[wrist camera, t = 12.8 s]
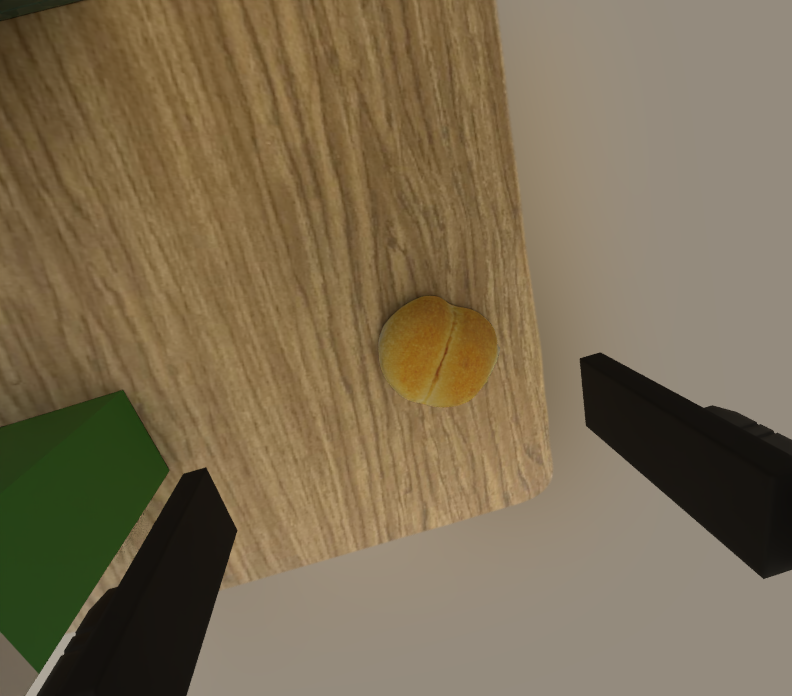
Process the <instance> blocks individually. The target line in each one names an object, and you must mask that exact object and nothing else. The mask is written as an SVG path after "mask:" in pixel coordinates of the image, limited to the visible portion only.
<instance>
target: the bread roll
mask: <svg viewBox="0 0 792 696" xmlns="http://www.w3.org/2000/svg"><path fill="white" fill-rule="evenodd" d="M499 352H500V347H499V345H498V344H497V338H496V334H495V331H494V328H493V327H492V325H491V324H490V323H489V322H488V321H487V320H486V319H485V318H484V317H483V316H482V315H481V314H479V313H478V312H476V311H473V310H471V309H467V308H463V307H457V306H454V305H451V304H449V303H448V302H446V301H445V300H443V299H442V298H440V297H436V296H429V295H428V296H422V297H419V298H417V299H415V300H413V301H411V302H409V303H407V304H406V305H404V306H403V307H401V308H400V309H399V310H398V311H397V312H395V313H394V314H393V315H392V316H391V317H390V318H389V320H388V321H387V322H386V323H385V325H384V326H383V329H382V331H381V334H380V336H379V341H378V353H379V362H380V367H381V370H382V373H383V375H384V377H385V379H386V380H387V382H388V383H389V385H390V386H391V387H392V388H393V389H394V390H395V391H396V392H397V393H398V394H399V395H400V396H402V397H403V398H405V399H407V400H409V401H412V402H416V403H421V404H426V405H429V406H434V407H442V408H444V407H454V406H458V405H461V404H463V403H466V402H468V401H470V400H471V399H472V398H473V397H474V396H475V395H476V394H477V393H478V392H479V391H480V389H481V388H482V387H483V385H484V384H485V383H487V381H488V377H489V376H490V375H491V372H492V371H493V368H494V366H495V364H496V362H497V360H498V356H499Z"/></svg>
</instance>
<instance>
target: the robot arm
mask: <svg viewBox="0 0 792 696" xmlns="http://www.w3.org/2000/svg"><path fill="white" fill-rule="evenodd" d="M580 367H581V377H582V387H583V399H584V410H585V420H586V426H587V427H588V428H589V429H590V430H592V431H593V432H594V433H595V434H596V435H597V436H599V437H600V438H601V439H602V440H603V441H605V442H606V443H607V444H608V445H609V446H610V447H611V448H612V449H614V450H615V451H616V452H617V453H618V454H619V455H621V456H622V457H623V458H624V459H625V460H626V461H628V462H629V463H630V464H631V465H632V466H633V467H634V468H636V469H637V470H638V471H639V472H640V473H641V474H643V475H644V476H645V477H646V478H647V479H648V480H650V481H651V482H652V483H653V484H654V485H655V486H657V487H658V488H659V489H660V490H661V491H662V492H664V493H665V494H666V495H667V496H668V497H669V498H671V499H672V500H673V501H674V502H675V503H676V504H677V505H679V506H680V507H681V508H682V509H684V511H686V512H687V513H688V514H689V515H690V516H691V517H692V518H694V519H695V520H696V521H697V522H698V523H699V524H701V525H702V526H703V527H704V528H705V529H706V530H707V531H709V532H710V533H711V534H712V535H713V536H714V537H716V538H717V539H718V540H719V541H720V542H722V543H723V544H724V545H725V546H726V547H727V548H728V549H730V550H731V551H732V552H733V553H734V554H735V555H736V556H738V557H739V558H740V559H741V560H742V561H743V562H745V563H746V564H747V565H748V566H749V567H750V568H751V569H753V570H754V571H755V572H756V573H757V574H758V575H760V576H761V577H762V578H763V579H765V578H768V577H771V576H774V575H777V574H780V573H783V572H786V571H789V570H792V440H791V439H789V438H787V437H785V436H783V435H781V434H779V433H776V434H775V433H774V431H773V430H771V429H769V428H767V427H765V426H763V425H761V424H760V425H758V424H757V422H755V421H753V420H751V419H749V418H747V417H745V416H743V415H741V414H739V413H737V412H735V411H731V410H727V409H723V408H720V407H716V406H709V407H705V408H703V407H701V406H699V405H697V404H695V403H693V402H691V401H690V400H688V399H686V398H684V397H682V396H680V395H679V394H677V393H675V392H673V391H671V390H669V389H667V388H665V387H664V386H662V385H660V384H658V383H656V382H654V381H653V380H650V379H649V378H647V377H645V376H643V375H641V374H639V373H637V372H636V371H634V370H632V369H630V368H628V367H627V366H625V365H623V364H621V363H619V362H617V361H615V360H613V359H612V358H610V357H608V356H606V355H604V354H602V353H597V354H593V355H590V356H586V357H583V358H580ZM236 533H237V529H236V527H235V525H234V523H233V521H232V519H231V517H230V515H229V513H228V511H227V509H226V507H225V504H224V502H223V500H222V498H221V496H220V494H219V492H218V490H217V488H216V486H215V484H214V482H213V480H212V478H211V476H210V474H209V472H208V470H207V468H202V469H199V470H195V471H192V472H188V473H185V474H183V475H182V477H181V479H180V480H179V482H178V484H177V485H176V487H175V489H174V491H173V492H172V494H171V496H170V498H169V499H168V501H167V503H166V504H165V506H164V508H163V510H162V511H161V513H160V515H159V517H158V518H157V520H156V522H155V523H154V525H153V527H152V529H151V530H150V532H149V534H148V536H147V537H146V539H145V541H144V542H143V544H142V546H141V548H140V549H139V551H138V553H137V555H136V556H135V558H134V560H133V561H132V563H131V565H130V567H129V568H128V570H127V572H126V574H125V575H124V577H123V579H122V580H121V582H120V584H119V586H118V587H115V588H112V589H109V590H108V591H107V592H106V593H105V594H104V595H103V596H102V597H101V598H100V599H99V600H98V601H97V602H96V604H95V605H94V606H93V607H92V608H91V609H90V610H89V611H88V613H87V615H86V616H85V618H84V619H83V621H82V623H81V624H80V626H79V628H78V629H77V631H76V632H75V633H76V636H74V637H72V639H71V641H70V642H69V644H68V646H67V647H66V649H65V650H64V655H62V656H61V657H60V658H59V660H58V662H57V663H56V665H55V666H54V668H53V670H52V671H51V673H50V675H49V676H48V678H47V680H46V681H45V683H44V684H43V686H42V688H41V689H40V691H39V692H38V694H37V696H186V695H187V692H188V689H189V686H190V682H191V678H192V676H193V673H194V669H195V666H196V663H197V660H198V656H199V653H200V650H201V647H202V643H203V640H204V637H205V634H206V630H207V627H208V624H209V621H210V617H211V614H212V611H213V608H214V604H215V601H216V598H217V594H218V591H219V588H220V585H221V582H222V578H223V575H224V572H225V569H226V565H227V562H228V559H229V556H230V552H231V549H232V546H233V543H234V540H235V536H236Z"/></svg>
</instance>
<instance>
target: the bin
mask: <svg viewBox="0 0 792 696" xmlns="http://www.w3.org/2000/svg"><path fill="white" fill-rule="evenodd" d="M77 1H81V0H0V21H1V20H5V19H9V18H13V17H17V16H21V15H25V14H29V13H33V12H37V11H41V10H45V9H49V8H53V7H57V6H61V5H65V4H69V3H73V2H77Z"/></svg>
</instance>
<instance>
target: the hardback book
mask: <svg viewBox="0 0 792 696" xmlns="http://www.w3.org/2000/svg"><path fill="white" fill-rule="evenodd" d="M168 472H169V469H168V467H167V466H166V464H165V462H164V460H163V459H162V457H161V455H160V454H159V452H158V450H157V448H156V447H155V445H154V443H153V441H152V440H151V438H150V436H149V434H148V433H147V431H146V429H145V428H144V426H143V424H142V422H141V421H140V419H139V417H138V415H137V414H136V412H135V410H134V408H133V407H132V405H131V403H130V401H129V400H128V398H127V396H126V395H125V393H124V391H123V390H122V391H118V392H115V393H112V394H109V395H105V396H102V397H99V398H95V399H92V400H89V401H86V402H82V403H79V404H76V405H72V406H69V407H66V408H63V409H59V410H56V411H53V412H50V413H46V414H43V415H40V416H36V417H33V418H30V419H27V420H23V421H20V422H17V423H14V424H10V425H7V426H4V427H0V696H25V695H26V694H27V692H28V690H29V689H30V687H31V686H32V684H33V683H34V681H35V679H36V678H37V676H38V675H39V673H40V672H41V670H42V669H43V667H44V665H45V664H46V662H47V661H48V659H49V658H50V656H51V655H52V653H53V651H54V650H55V648H56V646H57V645H58V643H59V642H60V641H61V639H62V637H63V636H64V634H65V633H66V631H67V630H68V628H69V627H70V625H71V623H72V622H73V620H74V619H75V617H76V616H77V614H78V613H79V611H80V609H81V608H82V606H83V605H84V603H85V602H86V600H87V599H88V597H89V595H90V594H91V592H92V591H93V589H94V588H95V586H96V584H97V583H98V581H99V580H100V578H101V577H102V575H103V574H104V572H105V570H106V569H107V567H108V566H109V564H110V563H111V561H112V560H113V558H114V556H115V555H116V553H117V552H118V550H119V549H120V547H121V546H122V544H123V542H124V541H125V539H126V538H127V536H128V535H129V533H130V532H131V530H132V528H133V527H134V525H135V524H136V522H137V521H138V519H139V518H140V516H141V514H142V513H143V511H144V510H145V508H146V507H147V505H148V504H149V502H150V500H151V499H152V497H153V496H154V494H155V493H156V491H157V489H158V488H159V486H160V485H161V483H162V482H163V480H164V479H165V477H166V475H167V474H168Z"/></svg>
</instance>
